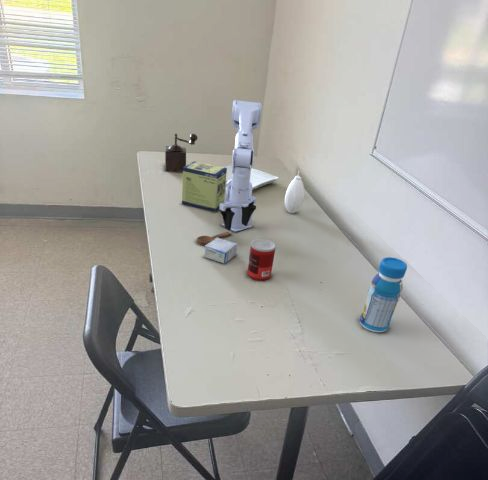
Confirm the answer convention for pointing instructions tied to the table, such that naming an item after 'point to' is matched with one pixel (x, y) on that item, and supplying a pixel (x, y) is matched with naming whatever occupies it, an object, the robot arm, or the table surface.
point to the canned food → (261, 259)
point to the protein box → (203, 186)
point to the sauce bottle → (294, 195)
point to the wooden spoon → (210, 238)
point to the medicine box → (220, 250)
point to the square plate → (254, 177)
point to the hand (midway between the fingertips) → (236, 227)
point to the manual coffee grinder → (177, 155)
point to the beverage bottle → (383, 295)
